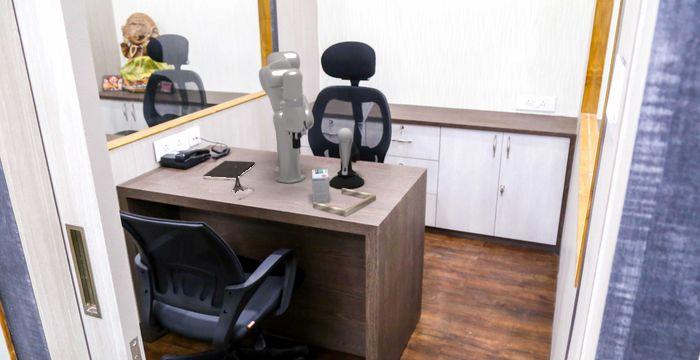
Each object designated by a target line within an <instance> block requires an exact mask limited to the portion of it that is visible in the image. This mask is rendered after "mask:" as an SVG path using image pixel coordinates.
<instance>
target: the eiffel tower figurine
mask: <svg viewBox="0 0 700 360" xmlns="http://www.w3.org/2000/svg"><path fill="white" fill-rule="evenodd" d="M235 169H236V180H234V181H235V182H234V185H233V188H232V190H234V191H235V193H236V192H237V191H239V190H242V191H244V189H245V188H242V187H243V186H242V185H241V182H240V179H239V178H238V173H237V167H236V166H235Z"/></svg>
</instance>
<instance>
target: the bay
mask: <svg viewBox="0 0 700 360" xmlns="http://www.w3.org/2000/svg"><path fill="white" fill-rule="evenodd" d="M340 191H341V194H342V195H346V196H351V197H355V198H359V199H362V200H360V201H357V203H355V204H353V205H351V206H349V207H347V208H345V209H344V208H340V207H336V206H333V205H328V204H325V203H317V202H314V203H313V202H312V208H313V209H315V210H318V211H323V212H327V213H330V214H334V215H339V216H340V217H341V216H343V217H345V218H347V217H348V216H350V215H352V214H354V213H355V212H357V211H359V210H361V209H362V208H364V207H366V206H369V204H371V203H373V202H375V201H376V200H377V194H373V193H369V192H363V191H358V190H356V189H346V188H342V189H340Z"/></svg>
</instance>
